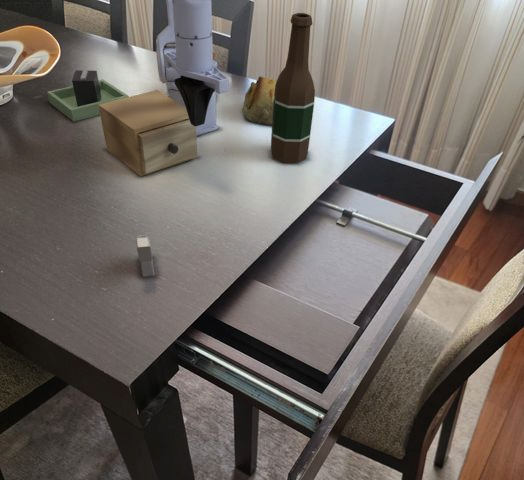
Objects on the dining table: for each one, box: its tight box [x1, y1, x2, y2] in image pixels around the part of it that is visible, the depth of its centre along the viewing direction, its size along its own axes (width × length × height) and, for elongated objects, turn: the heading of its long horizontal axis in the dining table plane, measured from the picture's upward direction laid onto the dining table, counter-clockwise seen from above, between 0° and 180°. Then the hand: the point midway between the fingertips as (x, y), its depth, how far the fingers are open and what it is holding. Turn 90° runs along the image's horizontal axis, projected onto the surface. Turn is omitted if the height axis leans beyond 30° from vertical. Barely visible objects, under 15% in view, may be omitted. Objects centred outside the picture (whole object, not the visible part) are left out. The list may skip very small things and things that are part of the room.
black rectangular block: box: [71, 69, 101, 107], centre depth 106 cm, size 6×4×6 cm
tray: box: [46, 79, 130, 123], centre depth 108 cm, size 14×12×2 cm
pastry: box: [241, 75, 277, 126], centre depth 107 cm, size 14×12×8 cm
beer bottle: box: [270, 12, 316, 164], centre depth 89 cm, size 8×8×24 cm
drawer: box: [138, 120, 198, 174], centre depth 91 cm, size 13×11×7 cm
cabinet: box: [98, 89, 197, 177], centre depth 92 cm, size 13×13×9 cm
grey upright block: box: [135, 233, 155, 278], centre depth 68 cm, size 7×2×8 cm, turn 13°
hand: (197, 123), depth 84 cm, fingers closed
